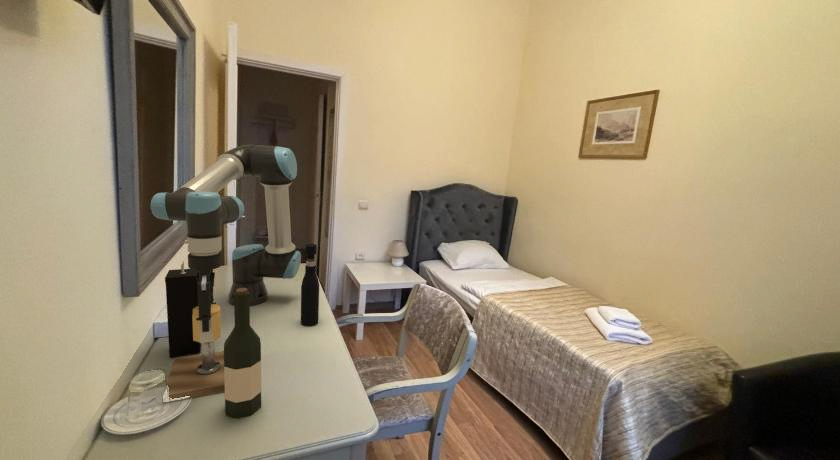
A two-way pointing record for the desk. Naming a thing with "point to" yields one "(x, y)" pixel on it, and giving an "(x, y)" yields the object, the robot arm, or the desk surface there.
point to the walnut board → (195, 377)
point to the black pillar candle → (181, 311)
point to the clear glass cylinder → (208, 359)
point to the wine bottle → (310, 289)
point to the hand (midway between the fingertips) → (207, 335)
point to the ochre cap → (215, 323)
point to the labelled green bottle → (242, 362)
